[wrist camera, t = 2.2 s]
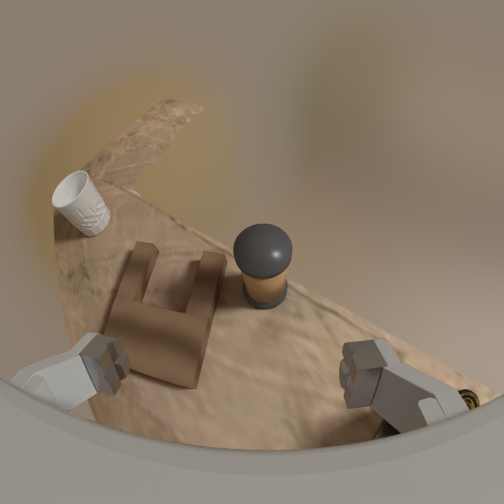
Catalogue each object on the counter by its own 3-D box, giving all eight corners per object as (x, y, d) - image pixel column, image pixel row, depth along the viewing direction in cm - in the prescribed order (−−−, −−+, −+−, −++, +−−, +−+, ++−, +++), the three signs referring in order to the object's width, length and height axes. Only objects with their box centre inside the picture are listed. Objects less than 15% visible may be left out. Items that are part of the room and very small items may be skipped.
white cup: (73, 235, 44) (45, 204, 35) (93, 202, 47) (69, 169, 39) (99, 244, 42) (69, 210, 33) (120, 208, 46) (96, 171, 37)
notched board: (196, 388, 30) (190, 388, 28) (107, 358, 33) (97, 355, 30) (227, 262, 39) (224, 254, 37) (143, 249, 41) (137, 241, 39)
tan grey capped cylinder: (283, 312, 35) (288, 279, 25) (239, 305, 36) (227, 270, 26) (290, 264, 38) (296, 218, 28) (250, 258, 39) (242, 211, 29)
